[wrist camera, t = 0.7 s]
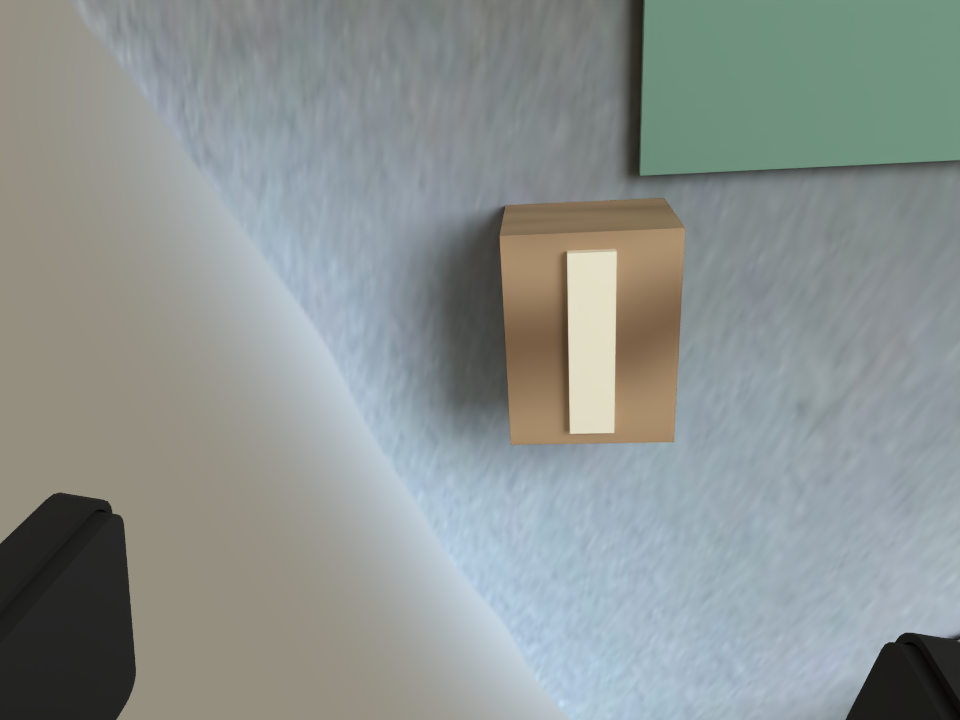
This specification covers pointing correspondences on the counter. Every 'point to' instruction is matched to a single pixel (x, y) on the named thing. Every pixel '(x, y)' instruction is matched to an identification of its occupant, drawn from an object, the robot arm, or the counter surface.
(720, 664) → the counter surface
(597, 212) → the cardboard box
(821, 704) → the counter surface
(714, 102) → the play mat
